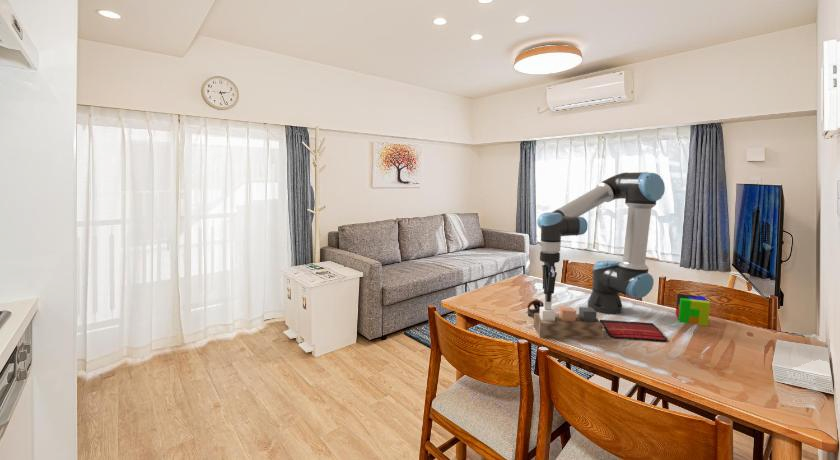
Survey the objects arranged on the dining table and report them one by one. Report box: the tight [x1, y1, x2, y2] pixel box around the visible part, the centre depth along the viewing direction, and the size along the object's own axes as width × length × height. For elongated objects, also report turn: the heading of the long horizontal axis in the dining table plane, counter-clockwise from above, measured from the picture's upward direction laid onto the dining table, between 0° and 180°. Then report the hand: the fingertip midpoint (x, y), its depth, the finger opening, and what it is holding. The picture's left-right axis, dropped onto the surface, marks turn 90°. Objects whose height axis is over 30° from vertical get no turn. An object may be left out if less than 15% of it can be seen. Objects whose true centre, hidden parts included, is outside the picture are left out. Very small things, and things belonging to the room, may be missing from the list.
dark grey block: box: [578, 306, 598, 322], centre depth 154 cm, size 5×5×6 cm
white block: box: [539, 306, 556, 321], centre depth 156 cm, size 5×5×6 cm
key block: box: [533, 313, 604, 340], centre depth 156 cm, size 24×11×6 cm, turn 86°
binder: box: [599, 319, 668, 343], centre depth 156 cm, size 16×2×21 cm
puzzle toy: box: [675, 293, 711, 327], centre depth 168 cm, size 10×10×10 cm
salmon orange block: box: [558, 306, 577, 321], centre depth 155 cm, size 5×5×6 cm
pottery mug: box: [526, 299, 544, 316], centre depth 176 cm, size 12×10×8 cm
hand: (547, 308), depth 155 cm, fingers closed
